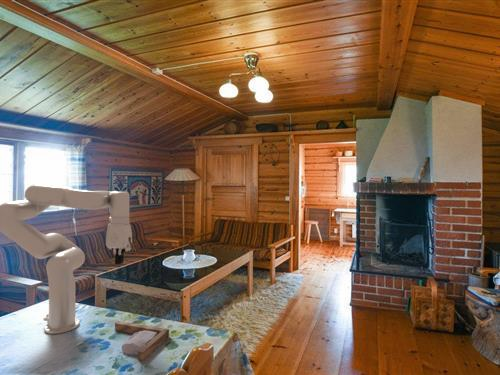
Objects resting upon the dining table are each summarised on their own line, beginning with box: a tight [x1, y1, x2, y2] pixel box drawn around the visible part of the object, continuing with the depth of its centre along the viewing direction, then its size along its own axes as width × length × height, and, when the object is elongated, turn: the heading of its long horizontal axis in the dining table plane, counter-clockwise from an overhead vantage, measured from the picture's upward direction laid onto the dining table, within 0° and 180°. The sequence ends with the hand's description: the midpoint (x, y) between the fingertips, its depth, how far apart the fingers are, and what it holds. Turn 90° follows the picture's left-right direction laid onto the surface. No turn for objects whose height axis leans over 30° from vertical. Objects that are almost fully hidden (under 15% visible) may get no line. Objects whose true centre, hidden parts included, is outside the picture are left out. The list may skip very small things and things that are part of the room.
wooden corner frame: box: [114, 320, 170, 362], centre depth 115 cm, size 24×17×3 cm
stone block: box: [121, 330, 157, 356], centre depth 114 cm, size 12×5×10 cm
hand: (119, 263), depth 128 cm, fingers closed
